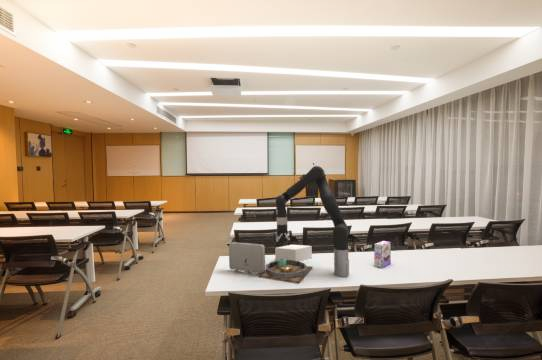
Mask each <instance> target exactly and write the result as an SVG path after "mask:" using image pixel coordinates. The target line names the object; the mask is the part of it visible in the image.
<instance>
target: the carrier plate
mask: <svg viewBox="0 0 542 360" xmlns="http://www.w3.org/2000/svg"><path fill="white" fill-rule="evenodd" d="M286 265H287V264H286ZM289 266H293V271H292V272H290V273H293V272H298V271H300V270H303V268H301V267H300V266H295V265H290V264H289ZM306 266H307V272H306V274H305V275H303V276H300V277H297V278H286V279H283V278H277V277H272V276H270V275H268V274H267V272H266V269H265V271H263V272H262V273H261V274H259V275H258V278H263V279H269V280H275V281H280V282H286V283H293V284H299V285H300V283H302V281H303V280H304V279H305V278H306V277H307V276H308V274H309V273H310V272H311V271H312V270H313V266H310V265H306ZM270 269H271V270H272V271H276V272H279V273H283V272H280V268H278V265H276V266H274V267H271V268H270ZM285 273H288V272H285Z"/></svg>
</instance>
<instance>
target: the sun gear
mask: <svg viewBox="0 0 542 360" xmlns="http://www.w3.org/2000/svg"><path fill="white" fill-rule="evenodd" d="M292 271H293V266H289V265H283V266H280V272H288V273H290V272H292Z"/></svg>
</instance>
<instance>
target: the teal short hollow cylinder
mask: <svg viewBox="0 0 542 360" xmlns="http://www.w3.org/2000/svg"><path fill="white" fill-rule="evenodd" d="M283 265H286V259H278V268H280V266H283Z"/></svg>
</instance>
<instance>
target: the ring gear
mask: <svg viewBox="0 0 542 360" xmlns="http://www.w3.org/2000/svg"><path fill="white" fill-rule="evenodd" d="M286 264H287V265H289V264H290V265H295V266H300V267H301V268H303V270H300V271H298V272H293V273H285V272H283V273H279V272H276V271H272V270H271V269H270V268H271V267H274V266H276V265H278V260H277V261H275V260H274V261H270V262H268V263H267V264H265V270H266V272H267V274H268V275H270V276H272V277H277V278H283V279H286V278H297V277H300V276H303V275H305V274H306V272H307V266H308V265H306V263H305V262H303V261H301V262H300V261H295V260H286Z"/></svg>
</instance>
